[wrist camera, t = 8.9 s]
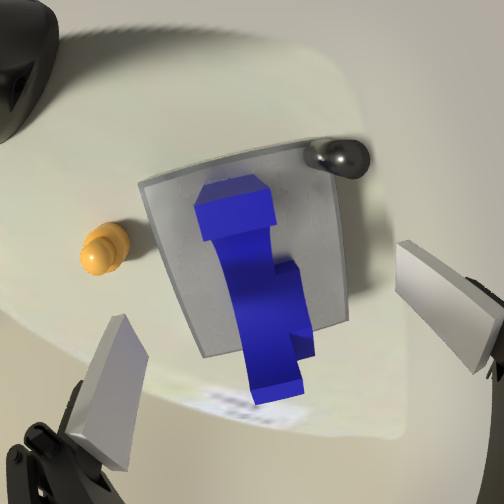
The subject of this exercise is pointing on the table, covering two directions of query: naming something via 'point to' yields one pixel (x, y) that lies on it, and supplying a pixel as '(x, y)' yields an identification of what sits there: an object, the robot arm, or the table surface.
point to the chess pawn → (104, 249)
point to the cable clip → (258, 285)
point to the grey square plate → (282, 235)
